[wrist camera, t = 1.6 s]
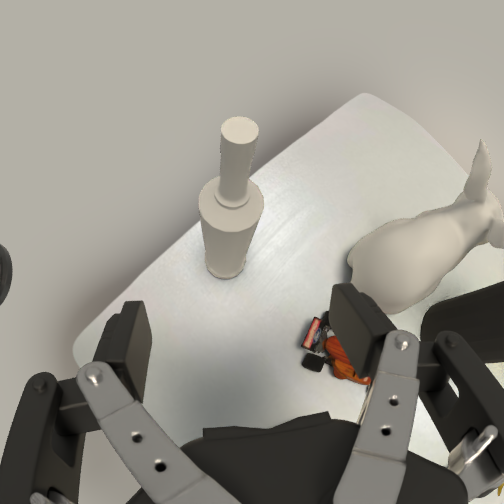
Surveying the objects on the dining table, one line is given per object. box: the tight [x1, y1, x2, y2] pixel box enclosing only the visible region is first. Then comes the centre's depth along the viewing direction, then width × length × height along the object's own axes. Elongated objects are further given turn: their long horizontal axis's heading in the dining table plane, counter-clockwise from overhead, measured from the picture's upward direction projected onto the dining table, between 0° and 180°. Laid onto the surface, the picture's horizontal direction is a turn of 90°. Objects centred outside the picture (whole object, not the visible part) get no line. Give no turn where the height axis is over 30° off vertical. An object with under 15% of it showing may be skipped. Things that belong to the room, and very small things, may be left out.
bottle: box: [199, 117, 264, 279], centre depth 27 cm, size 5×5×25 cm
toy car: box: [301, 311, 371, 385], centre depth 35 cm, size 8×16×4 cm, turn 64°
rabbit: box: [347, 139, 504, 314], centre depth 30 cm, size 12×21×25 cm, turn 115°
